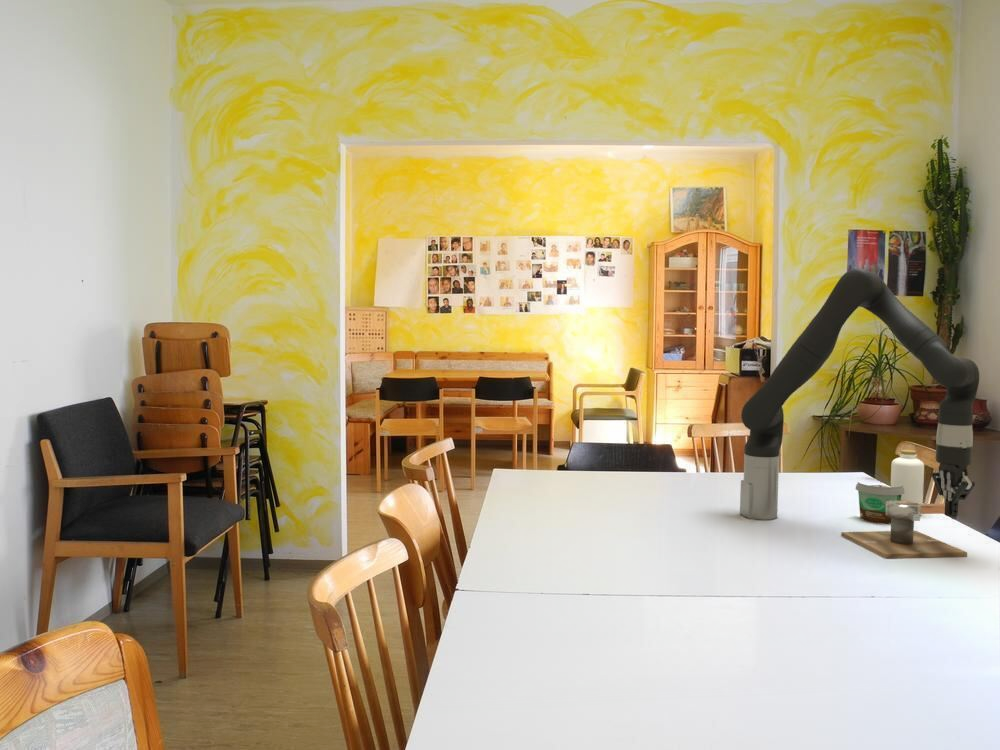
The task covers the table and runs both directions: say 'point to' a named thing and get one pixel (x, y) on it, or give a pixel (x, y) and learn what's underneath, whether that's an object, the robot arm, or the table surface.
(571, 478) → the table surface
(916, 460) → the potion bottle
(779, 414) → the robot arm
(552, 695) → the table surface
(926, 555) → the post base
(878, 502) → the food container
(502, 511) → the table surface
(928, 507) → the collar
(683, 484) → the table surface
